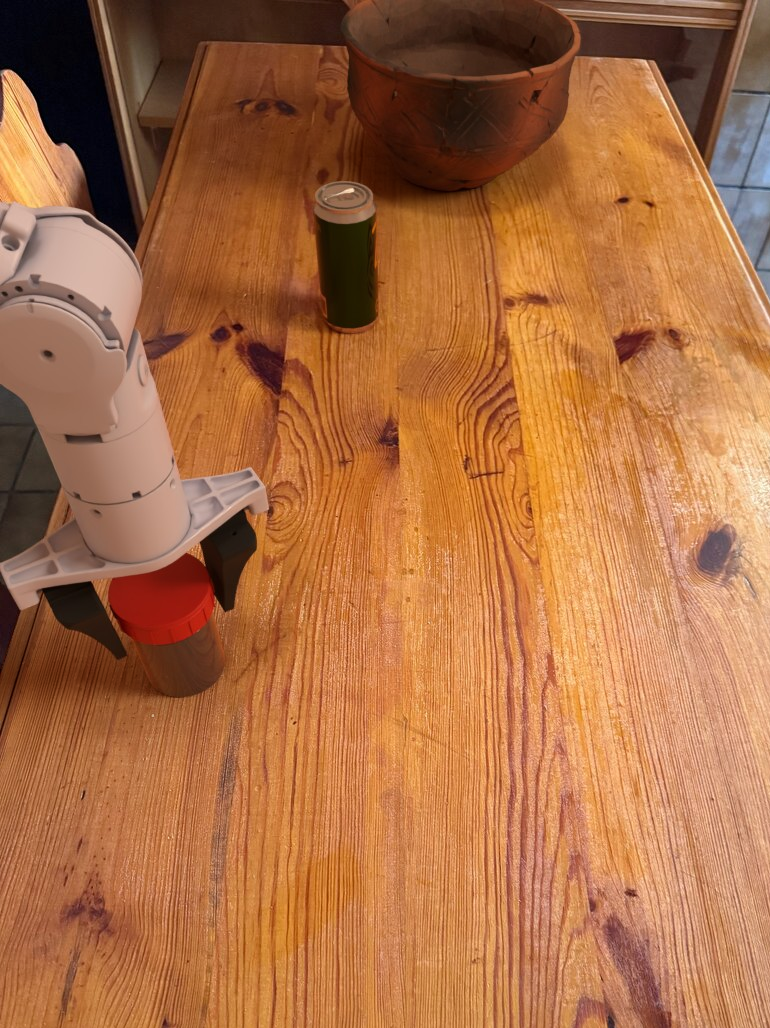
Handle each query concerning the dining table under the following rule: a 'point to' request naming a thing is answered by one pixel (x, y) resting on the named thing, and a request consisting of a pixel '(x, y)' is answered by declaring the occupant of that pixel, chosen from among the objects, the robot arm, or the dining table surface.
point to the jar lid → (163, 602)
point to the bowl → (458, 83)
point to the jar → (184, 662)
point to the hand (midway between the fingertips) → (171, 622)
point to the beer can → (347, 255)
